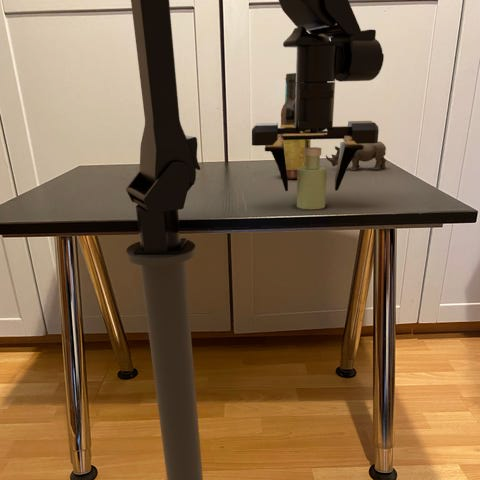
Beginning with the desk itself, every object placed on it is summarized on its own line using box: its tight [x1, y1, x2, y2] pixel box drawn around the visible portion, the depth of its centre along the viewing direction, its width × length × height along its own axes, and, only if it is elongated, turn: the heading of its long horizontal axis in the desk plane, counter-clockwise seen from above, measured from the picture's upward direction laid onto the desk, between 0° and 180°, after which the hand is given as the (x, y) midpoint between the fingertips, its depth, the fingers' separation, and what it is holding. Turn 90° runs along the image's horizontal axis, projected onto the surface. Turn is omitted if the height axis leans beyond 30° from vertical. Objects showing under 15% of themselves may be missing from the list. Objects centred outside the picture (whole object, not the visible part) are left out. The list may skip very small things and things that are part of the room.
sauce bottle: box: [279, 72, 312, 180], centre depth 98 cm, size 7×6×20 cm
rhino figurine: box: [325, 141, 387, 171], centre depth 108 cm, size 4×14×6 cm, turn 84°
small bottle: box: [296, 146, 328, 210], centre depth 77 cm, size 5×5×9 cm
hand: (311, 190), depth 77 cm, fingers open, 8 cm apart
